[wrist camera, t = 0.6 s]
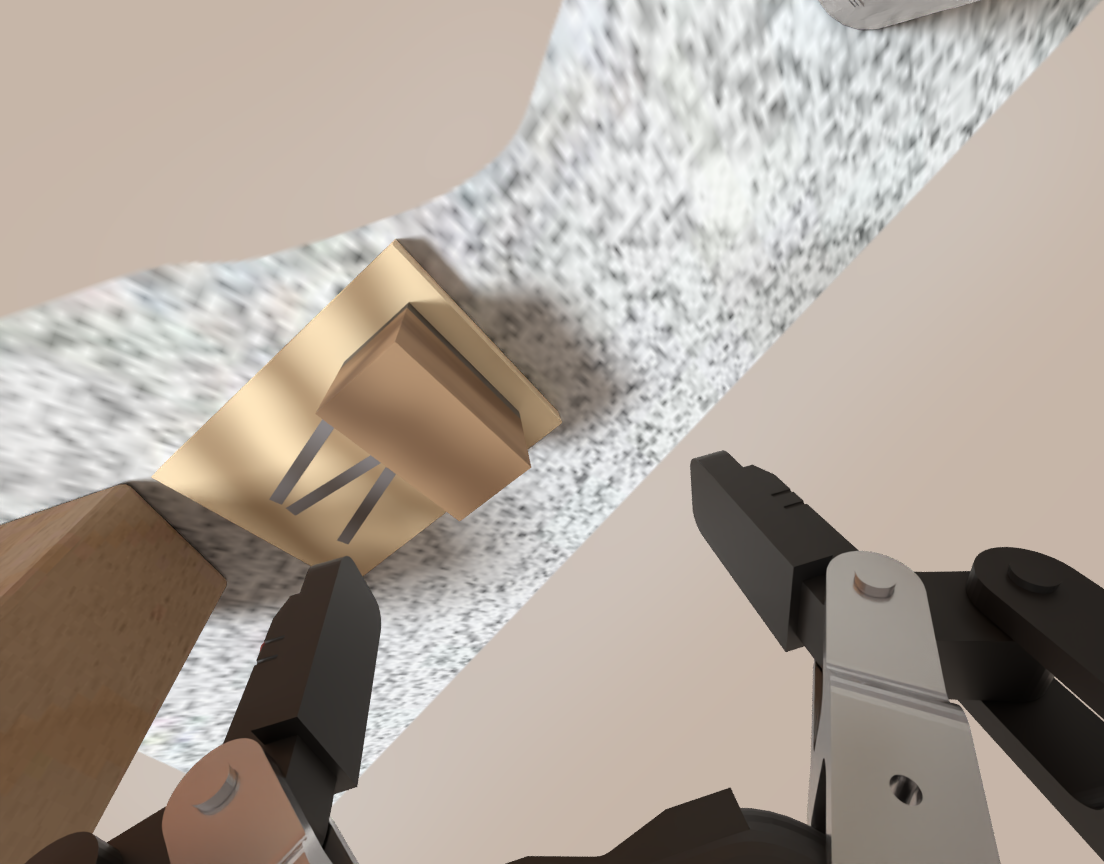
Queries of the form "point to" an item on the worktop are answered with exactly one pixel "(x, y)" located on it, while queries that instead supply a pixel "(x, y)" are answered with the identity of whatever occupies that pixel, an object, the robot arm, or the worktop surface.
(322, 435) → the pine board
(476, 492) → the block
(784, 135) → the worktop surface
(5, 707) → the wooden block
